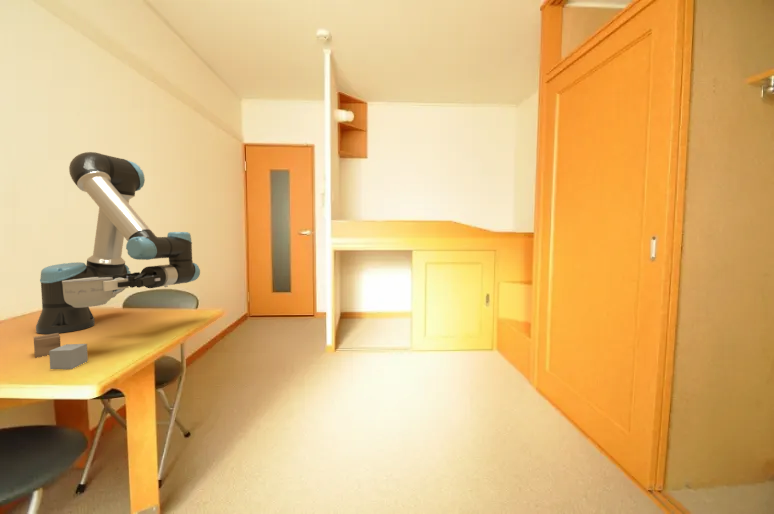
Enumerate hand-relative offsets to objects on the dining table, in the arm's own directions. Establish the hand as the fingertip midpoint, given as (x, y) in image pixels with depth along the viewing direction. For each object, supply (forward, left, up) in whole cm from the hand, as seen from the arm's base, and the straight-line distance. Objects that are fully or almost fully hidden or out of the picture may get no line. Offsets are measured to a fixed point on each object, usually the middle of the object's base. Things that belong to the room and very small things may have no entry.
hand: (88, 285), depth 92 cm
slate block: (+4, -8, -20) cm, 22 cm away
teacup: (+1, +1, -6) cm, 6 cm away
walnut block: (-12, -3, -20) cm, 23 cm away
